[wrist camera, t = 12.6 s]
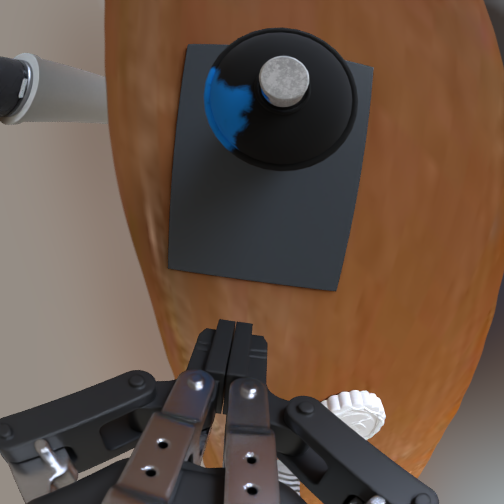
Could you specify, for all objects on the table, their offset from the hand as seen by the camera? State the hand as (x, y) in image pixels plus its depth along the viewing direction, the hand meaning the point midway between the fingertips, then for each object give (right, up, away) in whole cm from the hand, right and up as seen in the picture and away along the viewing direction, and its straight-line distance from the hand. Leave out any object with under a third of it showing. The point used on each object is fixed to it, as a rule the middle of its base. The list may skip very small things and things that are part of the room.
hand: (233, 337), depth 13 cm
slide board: (+2, +13, +18) cm, 22 cm away
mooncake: (+16, -22, +29) cm, 40 cm away
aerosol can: (+3, +17, +16) cm, 24 cm away
